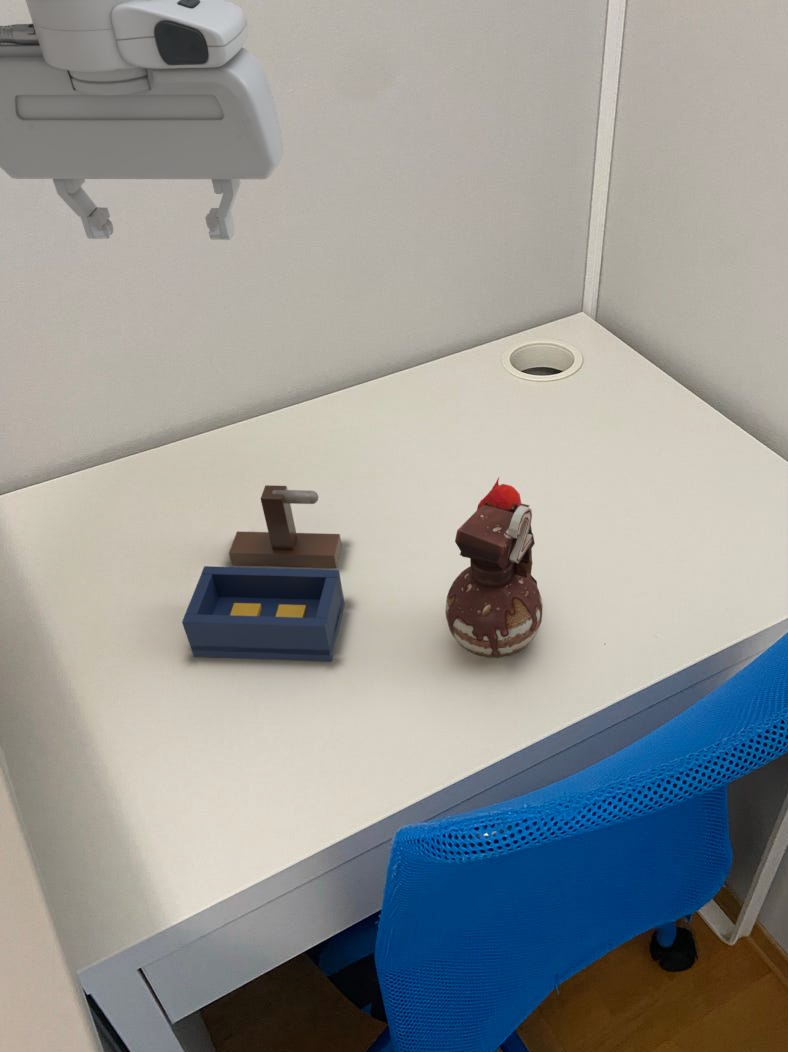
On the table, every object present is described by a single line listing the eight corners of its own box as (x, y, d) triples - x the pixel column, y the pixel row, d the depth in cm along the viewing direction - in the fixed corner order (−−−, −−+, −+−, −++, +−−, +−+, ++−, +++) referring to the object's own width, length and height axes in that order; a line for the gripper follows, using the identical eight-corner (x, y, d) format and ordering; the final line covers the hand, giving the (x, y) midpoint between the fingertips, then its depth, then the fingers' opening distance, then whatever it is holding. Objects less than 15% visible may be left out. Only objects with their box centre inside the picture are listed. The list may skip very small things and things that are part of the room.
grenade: (479, 590, 86) (474, 453, 75) (561, 616, 83) (569, 477, 72) (431, 659, 80) (419, 520, 69) (518, 689, 77) (520, 550, 66)
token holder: (193, 657, 80) (181, 622, 77) (214, 600, 85) (204, 565, 82) (331, 661, 80) (324, 626, 77) (345, 604, 85) (339, 569, 82)
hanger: (231, 565, 89) (214, 500, 83) (240, 543, 91) (223, 479, 85) (336, 567, 88) (325, 503, 83) (341, 545, 90) (331, 481, 85)
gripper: (-71, 37, 59) (12, 253, 69) (246, 35, 58) (284, 255, 68) (-28, 12, 64) (44, 218, 74) (268, 9, 63) (301, 220, 73)
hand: (162, 236), depth 71 cm, fingers open, 8 cm apart
